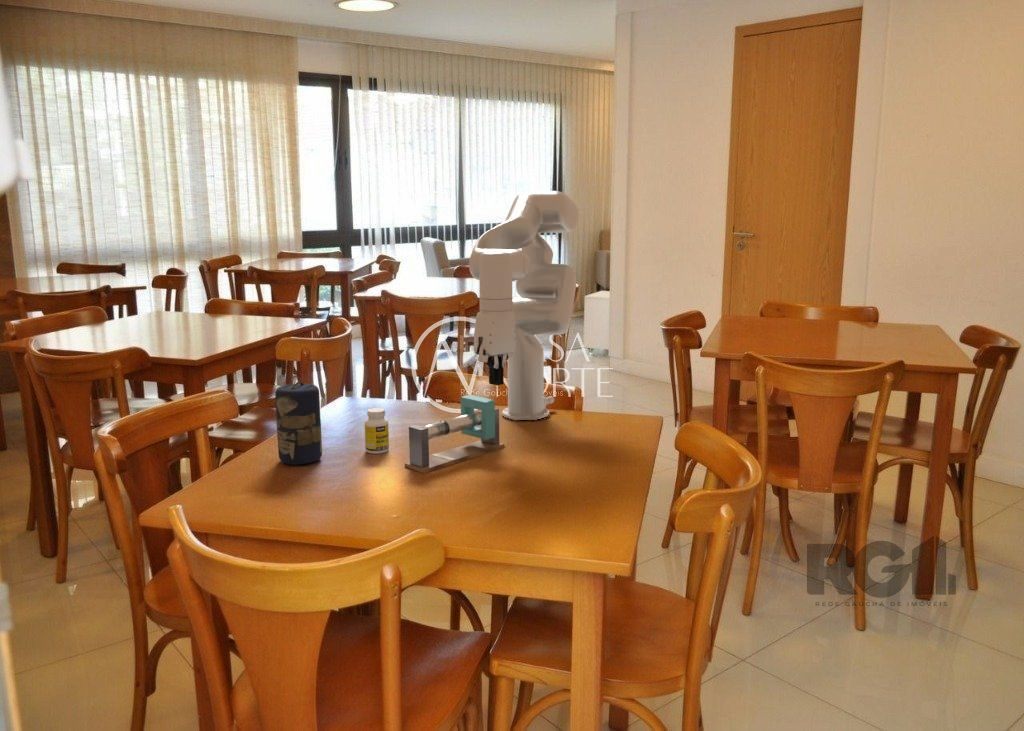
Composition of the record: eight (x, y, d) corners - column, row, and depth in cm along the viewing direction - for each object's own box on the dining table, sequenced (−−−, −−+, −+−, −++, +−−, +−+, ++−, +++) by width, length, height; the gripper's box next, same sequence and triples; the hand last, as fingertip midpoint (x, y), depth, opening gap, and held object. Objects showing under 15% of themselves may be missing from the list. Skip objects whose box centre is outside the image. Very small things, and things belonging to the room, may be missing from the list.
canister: (269, 463, 187) (264, 384, 184) (299, 452, 196) (294, 375, 192) (303, 469, 183) (298, 388, 179) (331, 457, 191) (327, 379, 188)
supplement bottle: (377, 455, 192) (375, 414, 190) (360, 451, 196) (358, 410, 194) (394, 450, 197) (392, 409, 195) (377, 446, 200) (376, 405, 198)
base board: (485, 441, 202) (485, 438, 202) (504, 447, 198) (504, 443, 198) (404, 466, 184) (404, 462, 184) (424, 473, 180) (424, 469, 180)
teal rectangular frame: (470, 430, 199) (469, 394, 198) (495, 437, 194) (494, 400, 192) (461, 433, 197) (460, 397, 195) (485, 439, 192) (485, 402, 190)
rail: (487, 443, 201) (486, 405, 199) (499, 446, 199) (499, 408, 197) (410, 467, 184) (408, 426, 182) (422, 471, 181) (421, 430, 179)
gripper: (506, 302, 202) (506, 377, 205) (461, 307, 191) (462, 386, 195) (529, 304, 197) (529, 381, 200) (484, 309, 186) (485, 391, 190)
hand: (496, 384), depth 197 cm, fingers closed
